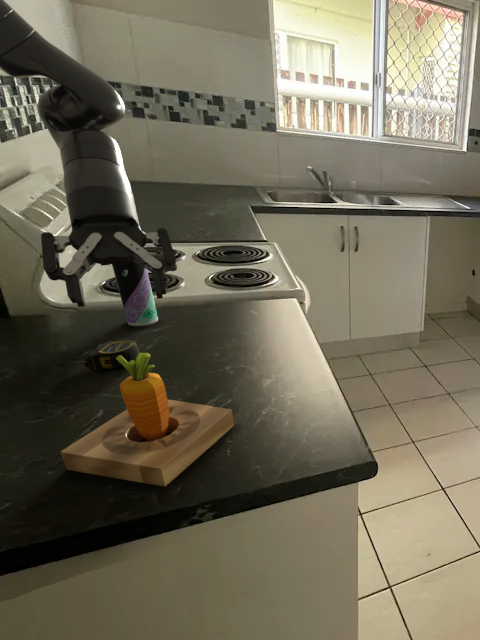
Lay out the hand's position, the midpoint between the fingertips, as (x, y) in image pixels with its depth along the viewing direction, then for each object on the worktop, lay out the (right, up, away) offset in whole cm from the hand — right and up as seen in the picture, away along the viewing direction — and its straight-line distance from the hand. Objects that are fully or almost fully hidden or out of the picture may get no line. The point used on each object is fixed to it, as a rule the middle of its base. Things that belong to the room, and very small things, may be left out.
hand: (122, 300), depth 65 cm
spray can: (-27, -2, +39) cm, 47 cm away
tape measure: (-19, -10, +21) cm, 31 cm away
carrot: (+2, -21, +3) cm, 21 cm away
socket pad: (+2, -21, +3) cm, 21 cm away
